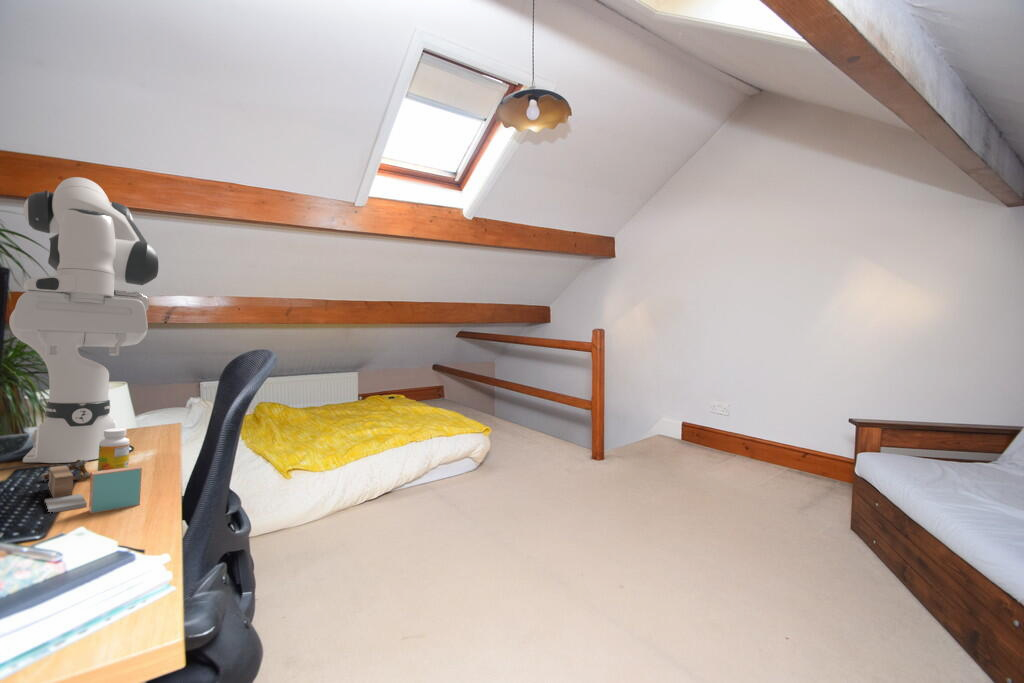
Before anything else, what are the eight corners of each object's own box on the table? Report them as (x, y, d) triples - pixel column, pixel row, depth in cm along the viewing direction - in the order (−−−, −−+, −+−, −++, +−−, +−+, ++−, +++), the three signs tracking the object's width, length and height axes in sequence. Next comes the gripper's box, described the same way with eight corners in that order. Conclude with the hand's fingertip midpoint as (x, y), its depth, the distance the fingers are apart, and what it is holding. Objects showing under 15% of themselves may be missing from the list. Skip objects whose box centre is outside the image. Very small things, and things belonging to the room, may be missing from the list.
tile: (88, 510, 85) (90, 472, 85) (137, 502, 91) (139, 465, 91) (90, 513, 84) (92, 474, 84) (139, 505, 89) (141, 468, 89)
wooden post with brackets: (91, 477, 102) (82, 458, 101) (49, 493, 100) (39, 474, 99) (96, 475, 103) (87, 456, 103) (54, 491, 101) (45, 472, 101)
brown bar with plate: (39, 490, 94) (40, 468, 94) (73, 485, 98) (74, 464, 98) (48, 513, 83) (50, 488, 83) (86, 507, 87) (87, 482, 87)
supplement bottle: (91, 473, 107) (94, 430, 107) (119, 467, 112) (121, 426, 112) (106, 476, 105) (108, 432, 105) (133, 471, 110) (135, 429, 110)
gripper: (145, 295, 106) (143, 356, 105) (13, 283, 91) (9, 355, 90) (152, 291, 102) (150, 355, 101) (15, 278, 87) (12, 353, 86)
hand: (83, 355), depth 95 cm, fingers open, 8 cm apart
